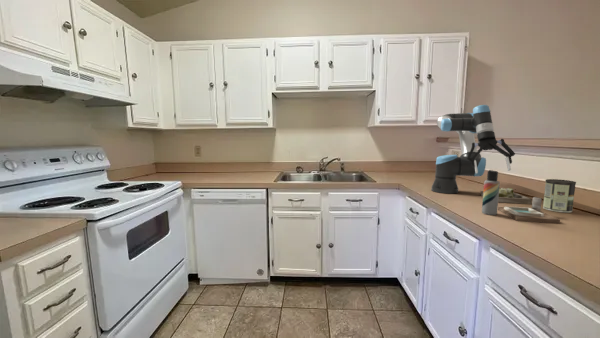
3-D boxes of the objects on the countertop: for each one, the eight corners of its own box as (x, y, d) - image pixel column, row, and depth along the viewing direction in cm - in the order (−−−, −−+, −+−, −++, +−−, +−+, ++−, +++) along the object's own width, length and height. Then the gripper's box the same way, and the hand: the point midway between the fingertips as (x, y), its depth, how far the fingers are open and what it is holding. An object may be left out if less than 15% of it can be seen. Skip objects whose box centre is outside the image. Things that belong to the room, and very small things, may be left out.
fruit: (512, 200, 147) (516, 187, 145) (510, 205, 141) (515, 191, 138) (492, 195, 153) (496, 182, 150) (490, 199, 146) (495, 186, 144)
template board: (498, 210, 125) (499, 194, 124) (535, 212, 121) (536, 196, 120) (516, 220, 109) (518, 203, 108) (559, 223, 106) (562, 205, 105)
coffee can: (561, 207, 129) (564, 179, 127) (578, 213, 119) (582, 183, 117) (537, 206, 131) (540, 178, 129) (552, 212, 121) (555, 182, 119)
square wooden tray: (480, 195, 156) (480, 191, 155) (513, 196, 152) (513, 192, 151) (493, 202, 139) (494, 197, 139) (531, 203, 135) (531, 199, 135)
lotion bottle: (485, 210, 123) (488, 169, 121) (499, 213, 119) (503, 170, 116) (479, 212, 120) (482, 170, 118) (493, 216, 116) (497, 171, 113)
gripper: (458, 134, 141) (464, 172, 135) (516, 125, 129) (526, 166, 123) (457, 139, 147) (463, 175, 141) (513, 131, 135) (522, 170, 129)
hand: (492, 171), depth 132 cm, fingers open, 13 cm apart
